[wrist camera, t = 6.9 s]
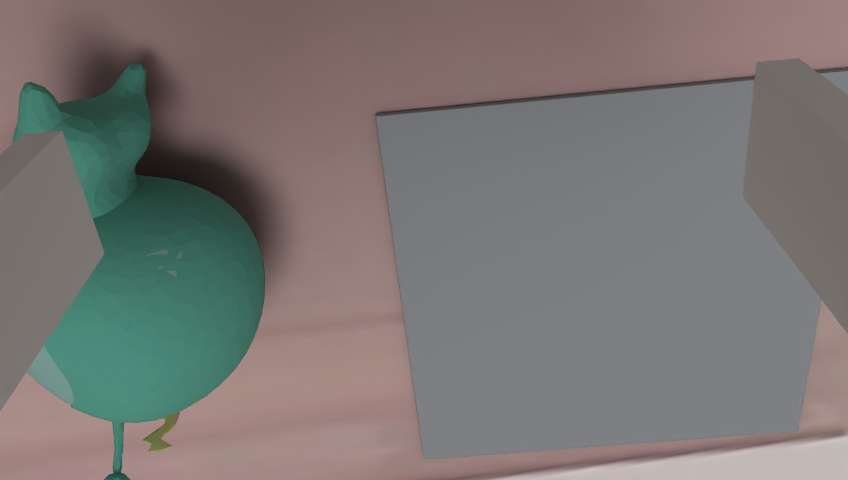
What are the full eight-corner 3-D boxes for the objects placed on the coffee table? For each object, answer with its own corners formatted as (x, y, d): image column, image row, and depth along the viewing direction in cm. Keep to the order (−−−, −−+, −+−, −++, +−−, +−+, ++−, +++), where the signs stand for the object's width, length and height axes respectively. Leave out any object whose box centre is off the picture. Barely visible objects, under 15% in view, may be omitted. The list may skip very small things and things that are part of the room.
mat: (375, 113, 31) (375, 116, 31) (858, 66, 30) (862, 69, 30) (424, 455, 40) (424, 459, 40) (795, 427, 39) (797, 431, 39)
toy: (-144, 71, 24) (-62, 470, 30) (85, 138, 20) (128, 588, 26) (120, 36, 33) (144, 356, 38) (324, 78, 28) (315, 432, 34)
